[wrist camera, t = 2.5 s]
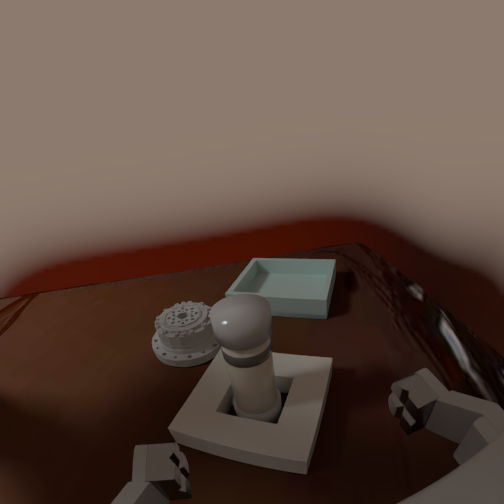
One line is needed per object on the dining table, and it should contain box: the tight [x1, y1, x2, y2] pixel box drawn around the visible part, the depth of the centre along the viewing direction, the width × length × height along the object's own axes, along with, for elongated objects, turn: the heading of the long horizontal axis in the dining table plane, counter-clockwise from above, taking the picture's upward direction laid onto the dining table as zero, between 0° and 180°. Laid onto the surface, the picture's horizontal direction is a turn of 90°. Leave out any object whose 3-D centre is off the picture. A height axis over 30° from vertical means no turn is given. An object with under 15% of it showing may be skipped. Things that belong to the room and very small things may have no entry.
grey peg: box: [209, 294, 282, 424], centre depth 24 cm, size 4×4×12 cm
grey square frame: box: [168, 349, 332, 474], centre depth 26 cm, size 12×12×2 cm
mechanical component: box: [152, 301, 221, 367], centre depth 37 cm, size 10×4×10 cm
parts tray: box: [225, 258, 336, 319], centre depth 45 cm, size 14×12×3 cm
